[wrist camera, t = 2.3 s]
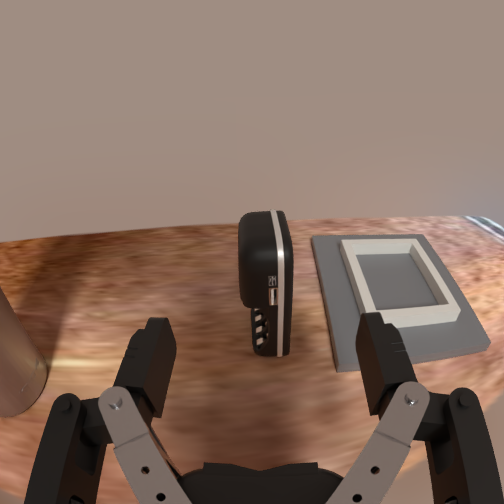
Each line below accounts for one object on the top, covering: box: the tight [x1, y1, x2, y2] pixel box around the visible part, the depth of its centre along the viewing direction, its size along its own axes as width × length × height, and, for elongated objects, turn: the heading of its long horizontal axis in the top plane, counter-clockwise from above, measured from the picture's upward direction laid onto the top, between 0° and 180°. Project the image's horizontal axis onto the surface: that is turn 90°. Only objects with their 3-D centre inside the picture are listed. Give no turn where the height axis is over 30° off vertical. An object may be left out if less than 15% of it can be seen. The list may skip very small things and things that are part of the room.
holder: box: [312, 234, 491, 372], centre depth 32 cm, size 16×20×3 cm
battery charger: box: [238, 209, 294, 357], centre depth 26 cm, size 7×4×11 cm, turn 2°
